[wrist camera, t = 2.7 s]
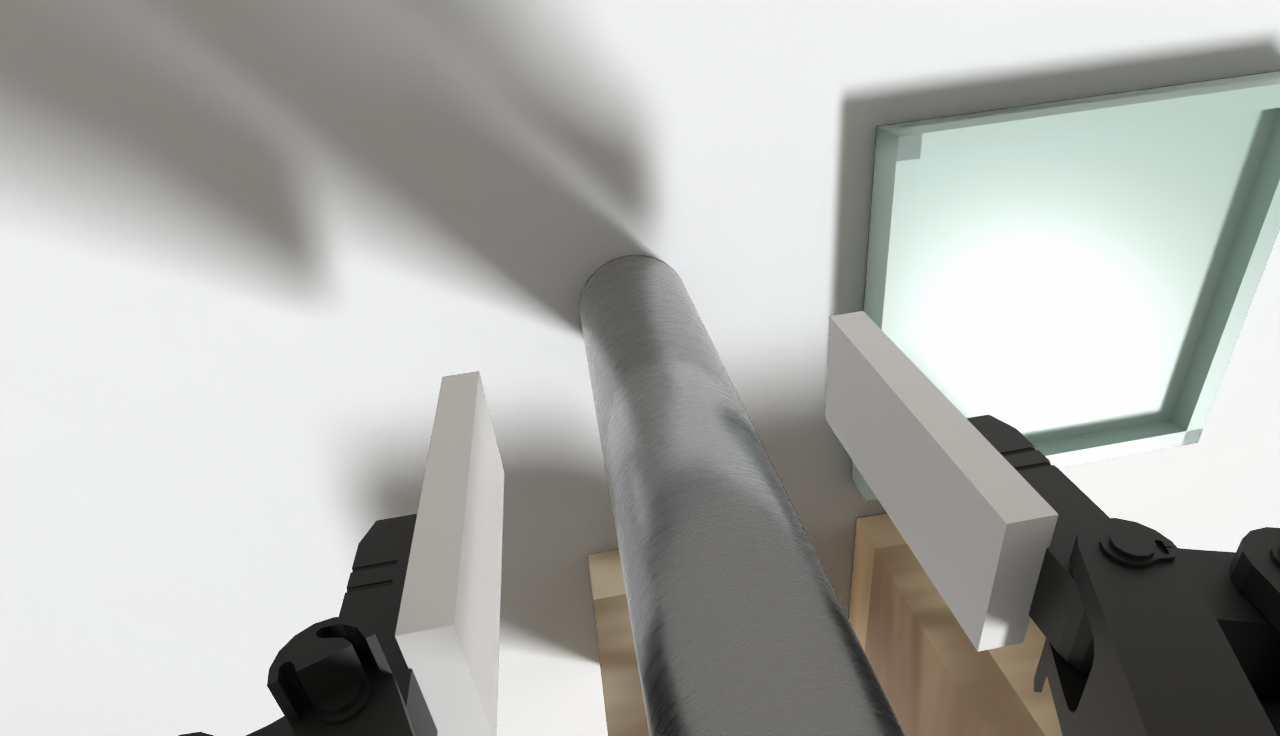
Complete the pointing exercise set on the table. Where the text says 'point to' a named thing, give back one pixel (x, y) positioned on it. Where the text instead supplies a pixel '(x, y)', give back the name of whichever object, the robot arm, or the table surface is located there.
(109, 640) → the table surface
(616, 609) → the narrow-bore block
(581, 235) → the table surface
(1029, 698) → the wide-bore block
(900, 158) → the tray
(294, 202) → the table surface
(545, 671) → the table surface
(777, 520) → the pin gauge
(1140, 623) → the robot arm
